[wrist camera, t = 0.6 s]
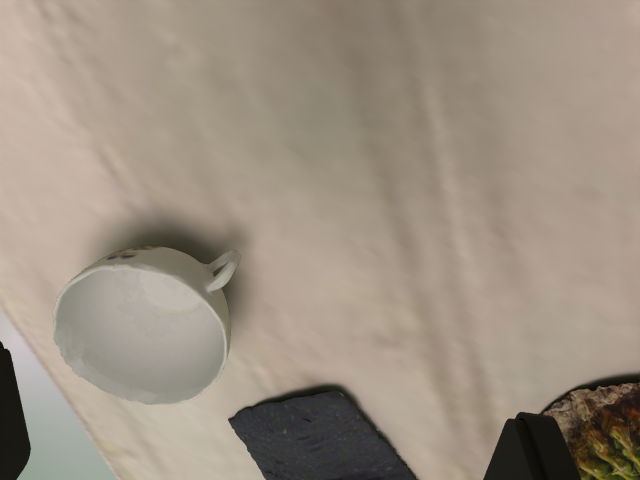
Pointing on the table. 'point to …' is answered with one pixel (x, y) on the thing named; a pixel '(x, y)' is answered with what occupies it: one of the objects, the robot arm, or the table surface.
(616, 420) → the cactus
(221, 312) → the teacup
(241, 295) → the table surface
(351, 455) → the dark slate chunk
